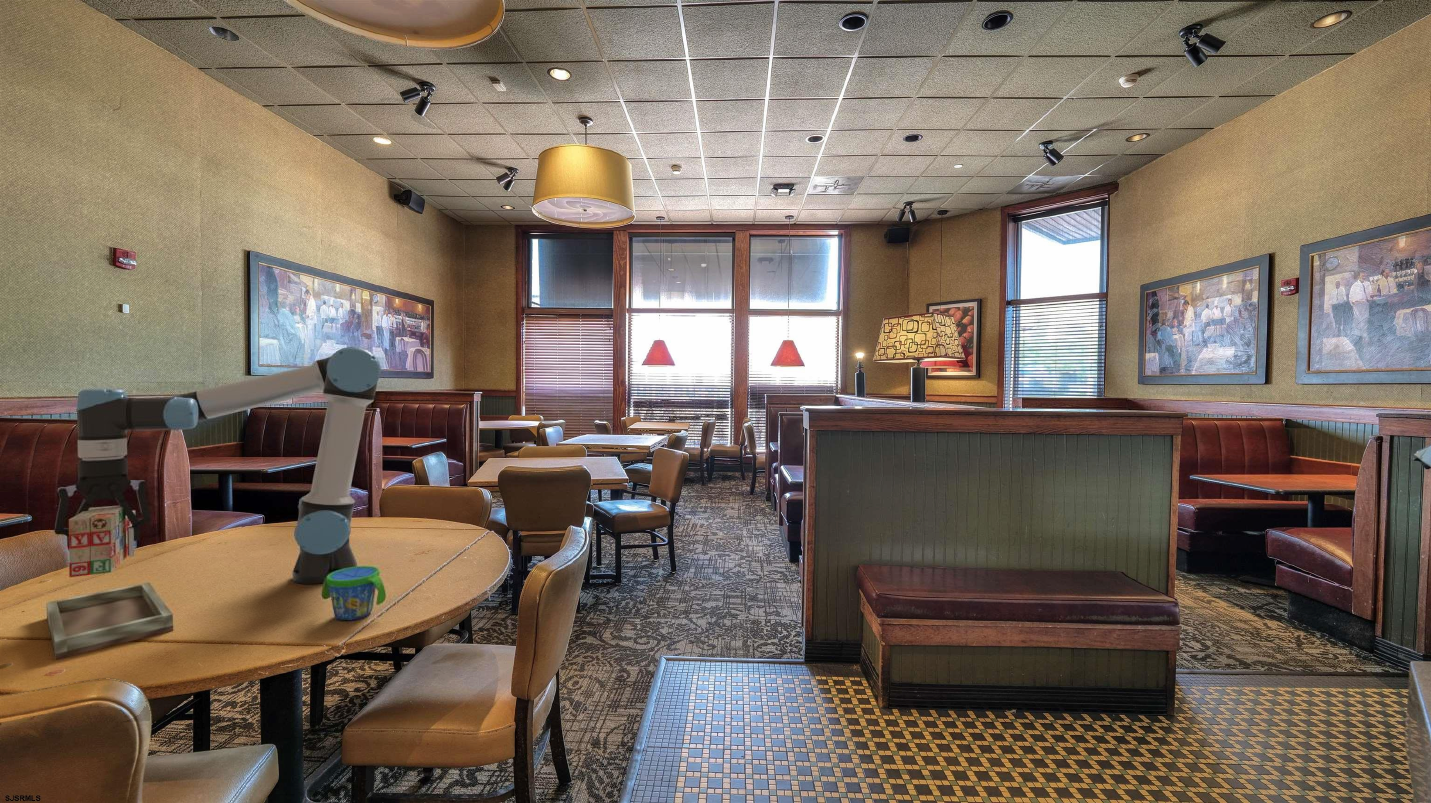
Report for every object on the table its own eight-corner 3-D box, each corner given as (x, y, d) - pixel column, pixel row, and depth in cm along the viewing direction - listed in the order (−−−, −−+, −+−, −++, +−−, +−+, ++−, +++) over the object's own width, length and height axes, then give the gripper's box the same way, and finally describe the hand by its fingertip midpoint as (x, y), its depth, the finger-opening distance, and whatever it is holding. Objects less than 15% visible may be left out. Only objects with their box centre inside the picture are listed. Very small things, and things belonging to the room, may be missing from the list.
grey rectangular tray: (149, 596, 145) (149, 582, 145) (173, 630, 126) (172, 614, 126) (46, 618, 132) (46, 602, 132) (55, 659, 113) (55, 641, 113)
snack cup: (398, 610, 138) (398, 569, 137) (359, 629, 128) (358, 583, 127) (349, 602, 142) (348, 562, 142) (307, 619, 132) (306, 576, 132)
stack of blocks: (100, 551, 136) (99, 500, 136) (137, 547, 140) (136, 497, 139) (68, 577, 118) (67, 518, 118) (111, 572, 122) (111, 515, 122)
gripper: (33, 464, 118) (35, 574, 118) (168, 455, 133) (170, 552, 134) (31, 460, 122) (34, 566, 123) (162, 452, 138) (164, 546, 139)
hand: (105, 559), depth 129 cm, fingers closed on stack of blocks, 7 cm apart
